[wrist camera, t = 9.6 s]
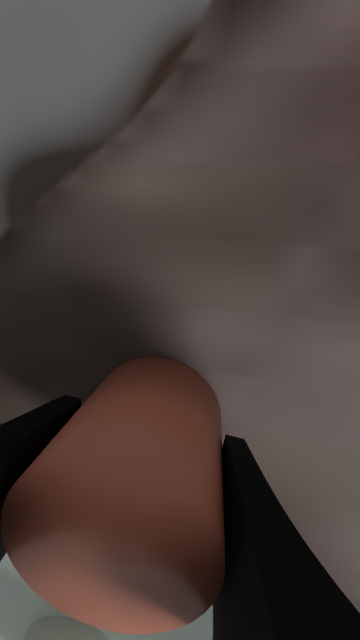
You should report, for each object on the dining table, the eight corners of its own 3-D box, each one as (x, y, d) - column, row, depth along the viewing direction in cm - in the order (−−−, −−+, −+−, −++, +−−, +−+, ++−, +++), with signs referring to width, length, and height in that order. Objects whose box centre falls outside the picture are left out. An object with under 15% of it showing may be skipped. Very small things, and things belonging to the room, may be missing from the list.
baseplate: (268, 566, 12) (272, 588, 11) (195, 754, 16) (194, 779, 15) (-66, 473, 13) (-83, 487, 12) (-50, 671, 17) (-63, 691, 17)
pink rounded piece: (234, 373, 10) (252, 493, 5) (206, 482, 11) (198, 659, 6) (102, 343, 10) (0, 428, 5) (90, 452, 12) (0, 597, 7)
